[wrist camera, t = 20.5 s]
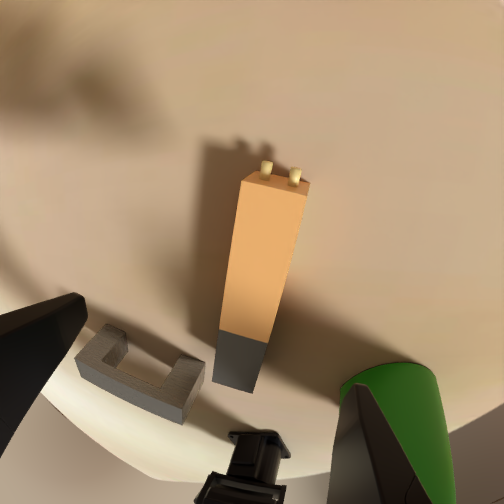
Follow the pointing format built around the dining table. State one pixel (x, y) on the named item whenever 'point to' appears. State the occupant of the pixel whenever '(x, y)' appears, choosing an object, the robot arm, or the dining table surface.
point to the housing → (132, 389)
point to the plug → (257, 272)
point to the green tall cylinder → (414, 422)
